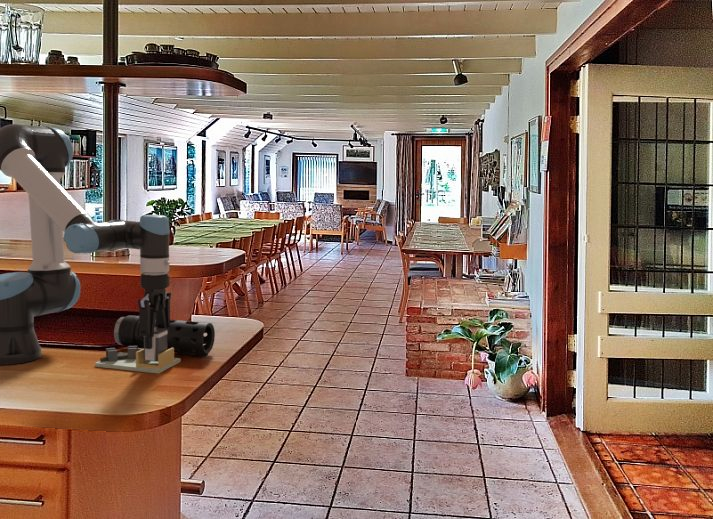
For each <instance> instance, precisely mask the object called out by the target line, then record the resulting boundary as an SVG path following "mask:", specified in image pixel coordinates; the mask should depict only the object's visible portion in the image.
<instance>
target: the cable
mask: <svg viewBox="0 0 713 519" xmlns="http://www.w3.org/2000/svg"><path fill="white" fill-rule="evenodd" d="M121 359H128V355H120V356H118V360H121ZM99 361H101V362H104V361H108V357H106V356H105V357H104V356H103V357H100V358H99Z"/></svg>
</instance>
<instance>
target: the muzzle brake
mask: <svg viewBox="0 0 713 519" xmlns="http://www.w3.org/2000/svg"><path fill="white" fill-rule="evenodd" d="M154 328H157V327H156V319H155V327H154ZM204 334H206V335H204ZM215 334H216V333H215V327H214V325H213V323H212V322H204V321H191V320H190V321H189V320H181V319H180V320H179V319H177V320H176V319H170V327H169V331H168V332H167V350H168V349H170V348H174V354H178V355H189V356H199V357H200V356H201V357H206V356H208V355H209V354H210V352H211V351H212V349H213V347H214V344H215V336H216V335H215ZM113 337H114V340H115V343H117V344H118V345H121V346H122V347H123V348H128V346H137V349H138V348H142V349H144V337H143V336H140V322H139V315H130V314H129V315H127V316H121V317H120V318H119V317H118V319H117V320H116V322H115V325H114V329H113Z"/></svg>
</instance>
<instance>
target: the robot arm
mask: <svg viewBox="0 0 713 519" xmlns="http://www.w3.org/2000/svg"><path fill="white" fill-rule="evenodd" d="M73 157H74V148H73V144H72V141H71V139H70V137H69V136H68V135H67V134H66V133H65V132H64V131H63V130H61V129H59V128H57V127H50V126H48V125H47V126H46V125H42V126H41V125H28V124H17V123H13V124H7V125H4V126H2V127H0V171H1V173H2V174H3V175H5V176H7V177H11V178H12V179H13V180H14V181H15V182H17V183H18V185H19V186H20V187H21V189H23V190H24V191H25V192H26V193H27V194H28V204H29V205H28V206H29V208H28V209H29V222H30V223H29V224H30V225H29V226H30V238H31V239H30V241H31V252H32V253H31V254H32V256H31V257H32V263H31V264H30V265H29V266H28V267H27V272H26V271H14V272H6V273H1V274H0V366H6V365H18V364H23V363H30V362H33V361H35V360H38V359H40V358H41V357H42V346H41V345H40V343H39V340H38V337H37V334H36V331H35V326H34V324H35V323H34V322H35V321H34V320H35V319H34V317H39V316H43V315H48V314H53V313H61V312H63V311H65V310H69V309H70V308H72V307H74V306H75V304H76V303H77V302H78V300H79V298H80V296H81V282H80V280H79V278H78V275H77V274H76V273H75V272H73V271H71V270H72V267H71V265H70V264H69V263H67V262H66V260H65V246H66V248H67V250H68V251H70V252H71V253H73V254H92V253H96V252H105V251H115V250H116V251H117V250H122V249H129V250H130V249H131V250H139V254H140V255H139V257H140V260H139V267H140V268H139V270H140V272H141V273H140V283H139V284H140V288H142V289H144V295H143V298H142V299H138V300H137V303H138V304H137V305H138V308H139V309H138V310H139V312H138V316H139V322H140V336H144V337H145V360H152V361H155V360H156V337H155V336H154V327H155V319H156V327H157V328H166V329H167V332H168V331H169V327H170V320H171V296H172V293H171V291H170V292H169V291H166V289H167V288H169V287H170V274H169V273H168V272H169V271H170V264H171V261H170V234H171V230H170V220H169V218H168V216H166V215H163V214H143V215H141V216H140V217H139V221H136V220H135V221H133V220H125V219H111V220H109V221H103V222H102V221H100V222H98V221H96V220H95V219H94V218H93V217H92V216H90V214H89V213H87V211H86V210H85V209H84V208H83V207H82V206H81V205H80V204H79V202H77V201H76V200H75V199H74V198H73V196H71V194H69V192H68V191H67V190H66V189H65V188H64V187H63V186H62V185H61V179H62V177H64V176H65V175H66V167H68V166H69V165H70V164H71V161H72V160H73ZM64 243H65V245H64Z"/></svg>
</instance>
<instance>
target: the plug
mask: <svg viewBox="0 0 713 519" xmlns="http://www.w3.org/2000/svg"><path fill="white" fill-rule="evenodd" d="M154 336H155V337H156V360H155V361H158V354H160V353H162V352H164V351H166V350H167V329H166V328H154ZM143 337H144V336H143ZM144 360H145V337H144ZM150 361H152V360H150Z"/></svg>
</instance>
